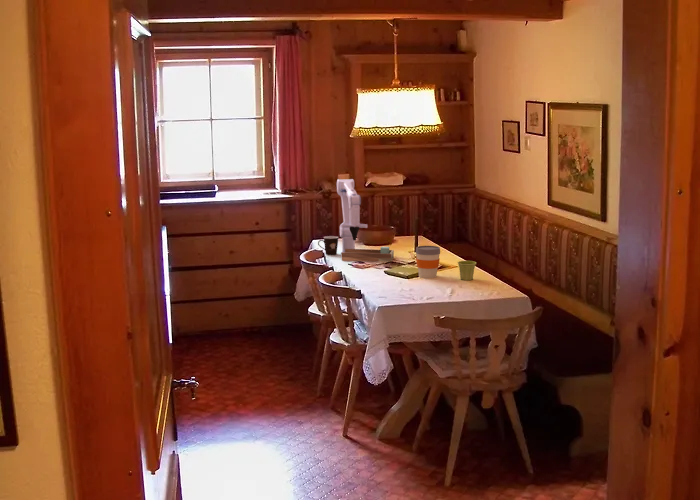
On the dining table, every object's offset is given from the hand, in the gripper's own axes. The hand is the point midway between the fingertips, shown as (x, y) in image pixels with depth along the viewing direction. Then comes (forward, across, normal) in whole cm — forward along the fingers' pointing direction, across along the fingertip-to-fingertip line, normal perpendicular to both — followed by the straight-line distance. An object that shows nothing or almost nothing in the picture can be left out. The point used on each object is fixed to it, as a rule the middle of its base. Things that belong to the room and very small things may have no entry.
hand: (354, 240), depth 487 cm
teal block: (+8, +17, +1) cm, 19 cm away
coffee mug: (+11, -17, +10) cm, 22 cm away
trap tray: (+10, +8, -2) cm, 13 cm away
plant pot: (+11, +65, -48) cm, 81 cm away
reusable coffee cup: (+11, +45, -44) cm, 64 cm away
